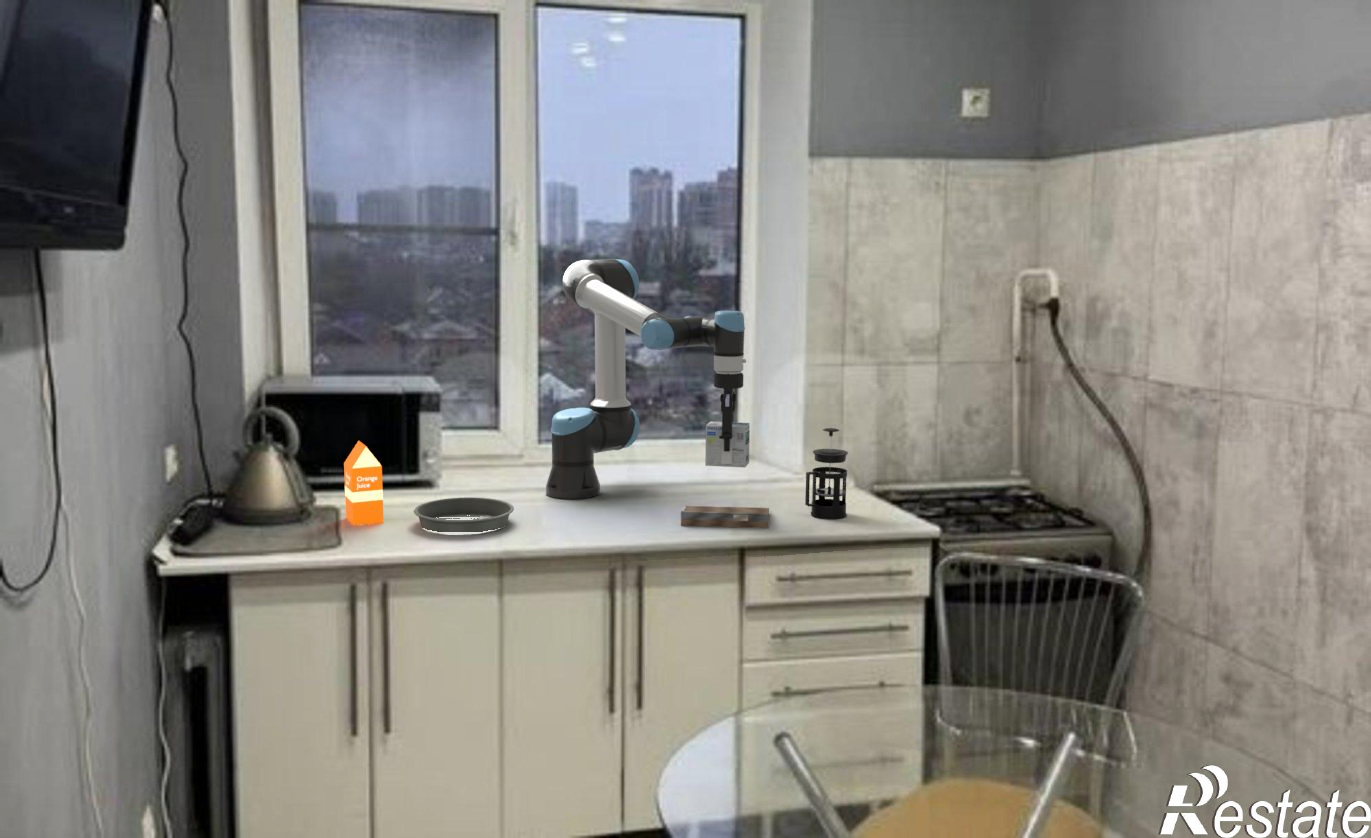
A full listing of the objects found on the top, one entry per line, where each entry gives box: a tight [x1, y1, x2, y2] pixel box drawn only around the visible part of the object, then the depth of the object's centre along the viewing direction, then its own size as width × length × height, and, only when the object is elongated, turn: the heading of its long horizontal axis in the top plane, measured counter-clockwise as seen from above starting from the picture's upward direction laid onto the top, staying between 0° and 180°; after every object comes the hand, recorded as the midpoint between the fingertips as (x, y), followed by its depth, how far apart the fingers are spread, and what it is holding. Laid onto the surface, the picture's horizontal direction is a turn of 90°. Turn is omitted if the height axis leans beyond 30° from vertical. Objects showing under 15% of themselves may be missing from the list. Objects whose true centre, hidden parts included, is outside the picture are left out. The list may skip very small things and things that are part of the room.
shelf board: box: [680, 505, 770, 529], centre depth 304 cm, size 22×15×4 cm
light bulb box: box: [705, 420, 751, 468], centre depth 304 cm, size 11×7×11 cm, turn 79°
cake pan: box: [413, 496, 515, 532], centre depth 297 cm, size 25×25×4 cm
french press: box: [804, 427, 849, 521], centre depth 308 cm, size 12×9×23 cm
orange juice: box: [343, 440, 385, 526], centre depth 298 cm, size 8×9×20 cm
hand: (727, 460), depth 305 cm, fingers closed on light bulb box, 7 cm apart
